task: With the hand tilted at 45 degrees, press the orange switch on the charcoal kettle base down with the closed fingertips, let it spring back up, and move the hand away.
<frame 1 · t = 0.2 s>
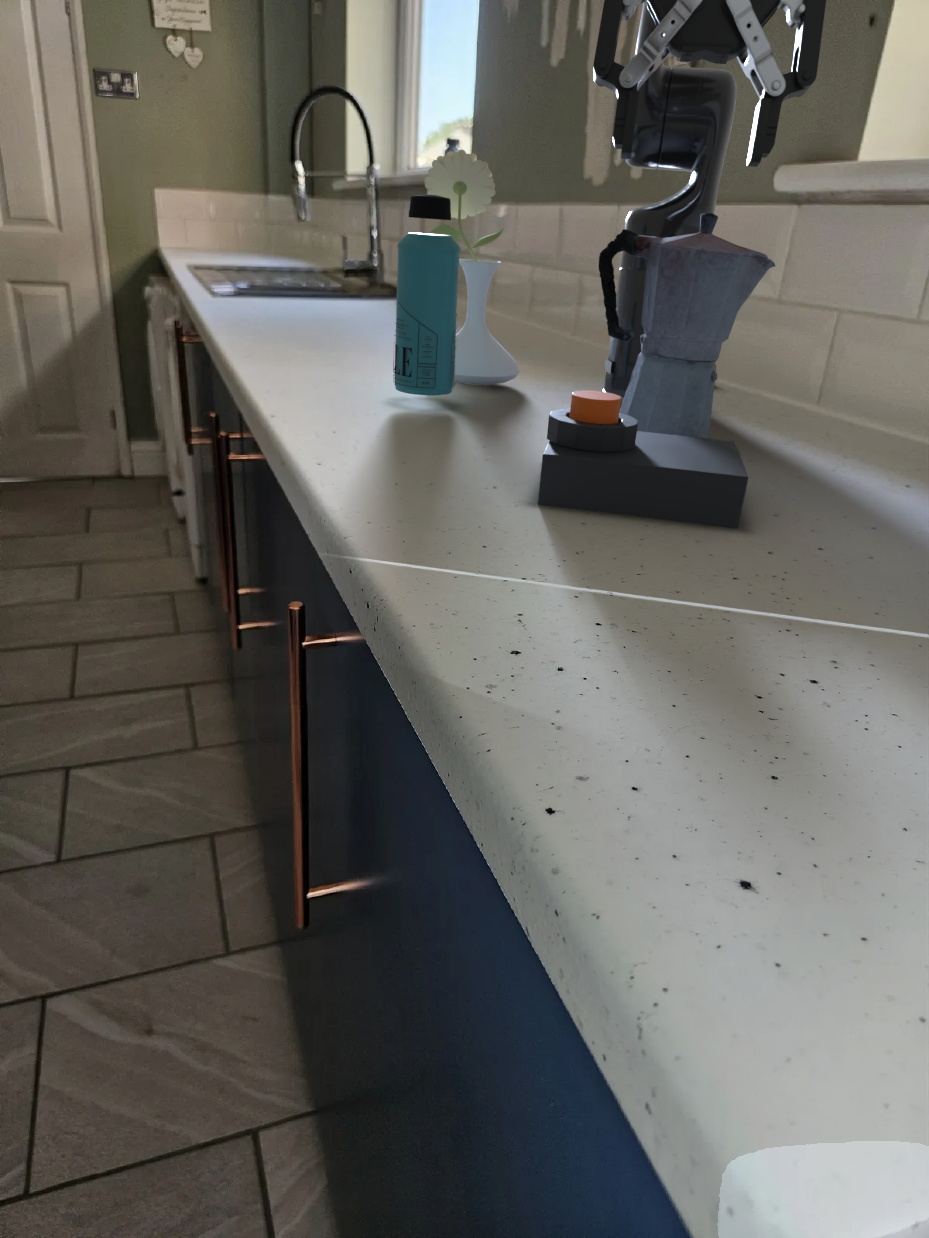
hand: (688, 160, 59), 23 cm above the counter, tool pointing down, fingers open, 8 cm apart
kettle switch: (594, 409, 64), point 6 cm above the counter, slide at 0.1 cm
beverage bottle: (422, 406, 92), on the counter
kettle base: (637, 495, 66), on the counter
moka pot: (656, 440, 84), on the counter
flower in vase: (465, 383, 106), on the counter
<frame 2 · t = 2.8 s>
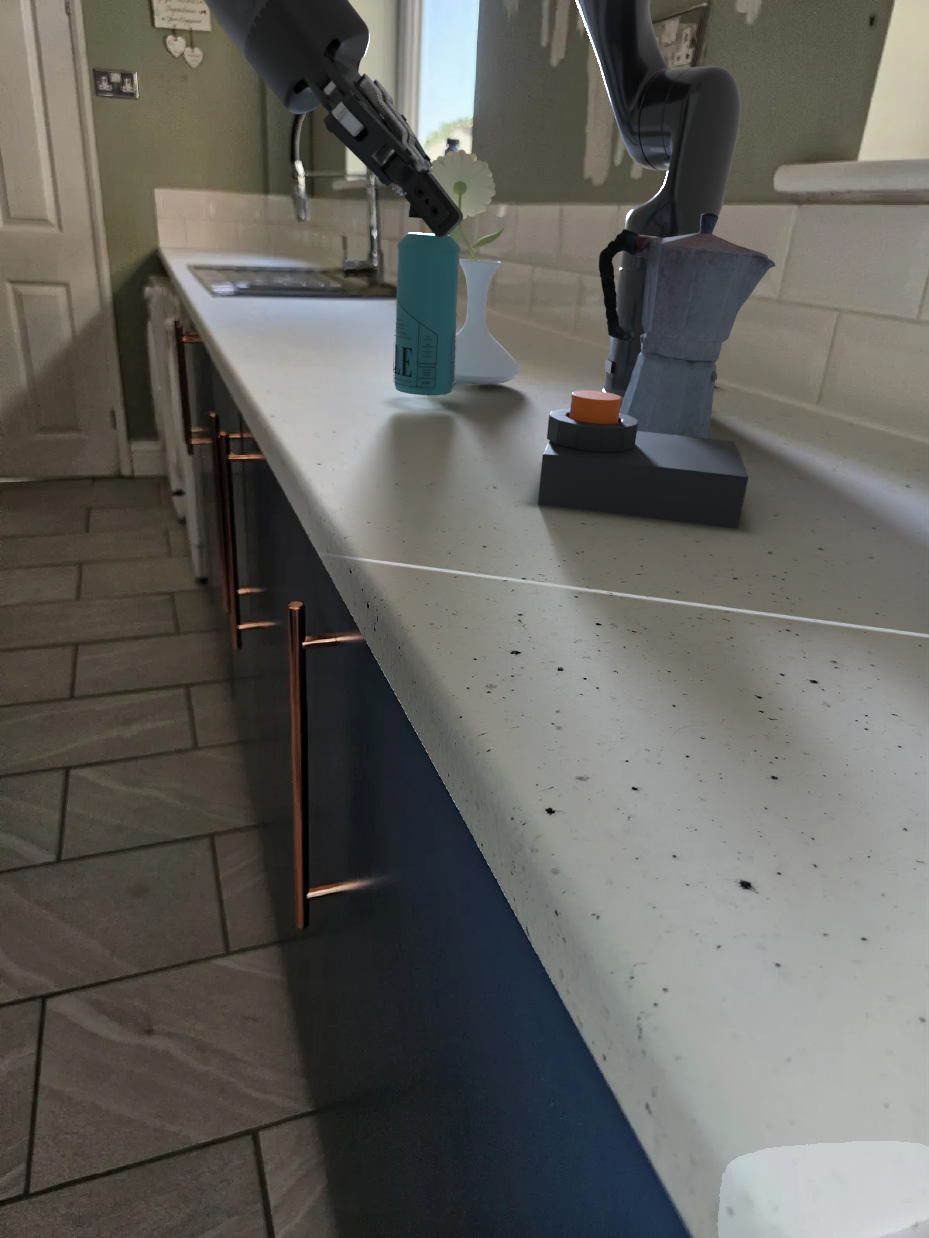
hand: (452, 228, 61), 18 cm above the counter, tool tilted 45°, fingers closed
nothing on the counter moved.
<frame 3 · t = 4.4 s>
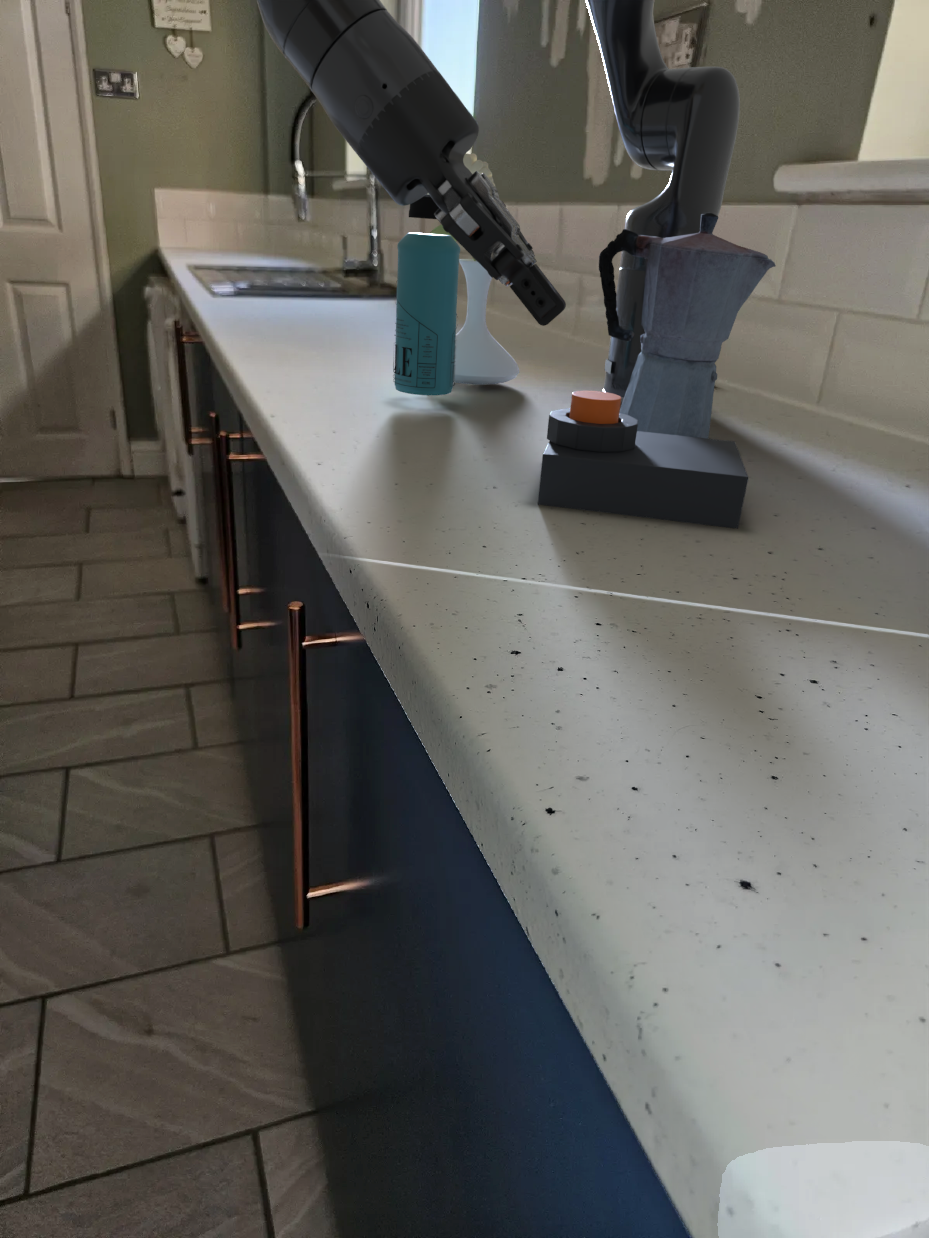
hand: (555, 317, 62), 12 cm above the counter, tool tilted 45°, fingers closed
nothing on the counter moved.
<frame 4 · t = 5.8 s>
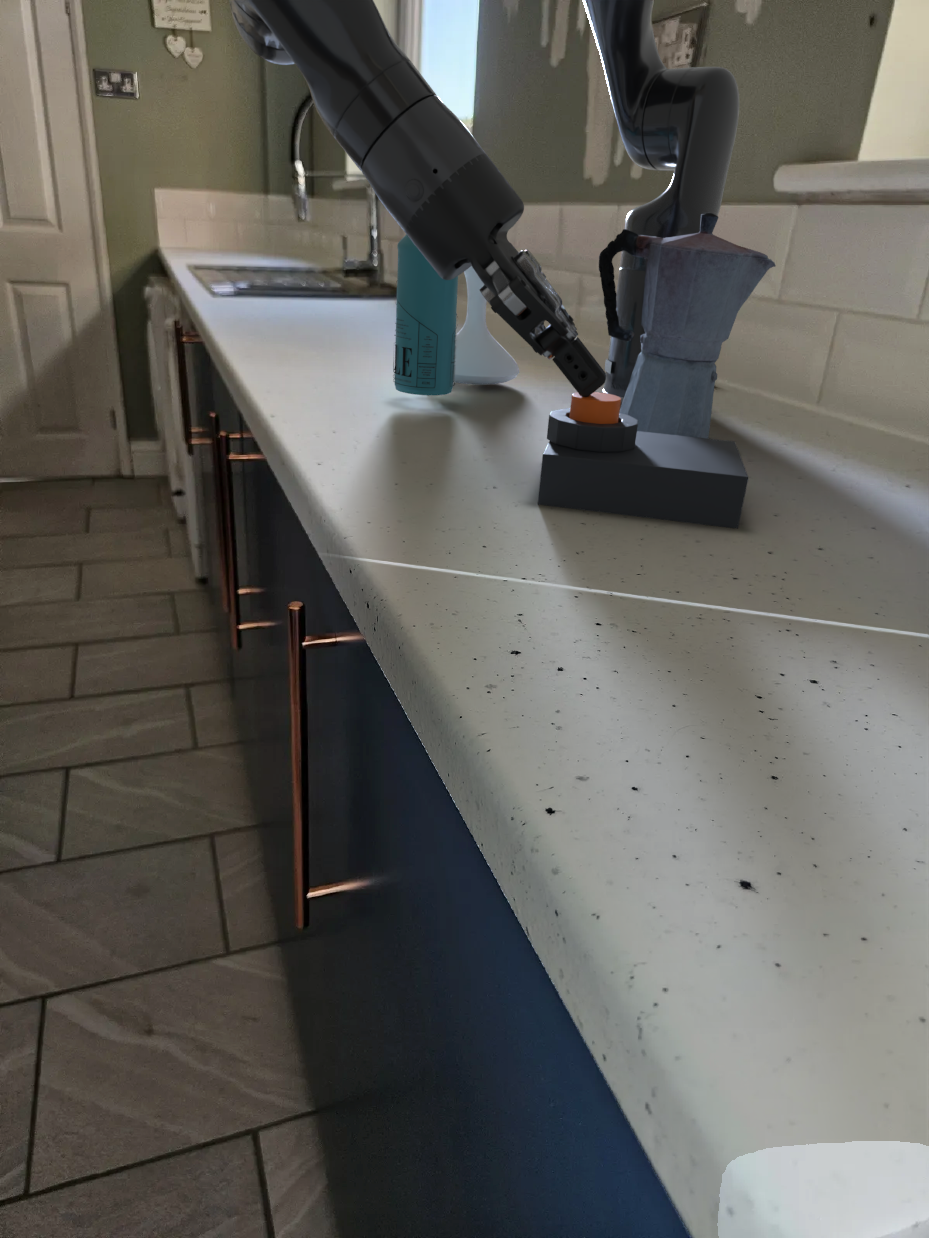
hand: (596, 388, 63), 8 cm above the counter, tool tilted 45°, fingers closed
kettle switch: (594, 410, 64), point 6 cm above the counter, slide at 0.0 cm, touching gripper
everything else where it was.
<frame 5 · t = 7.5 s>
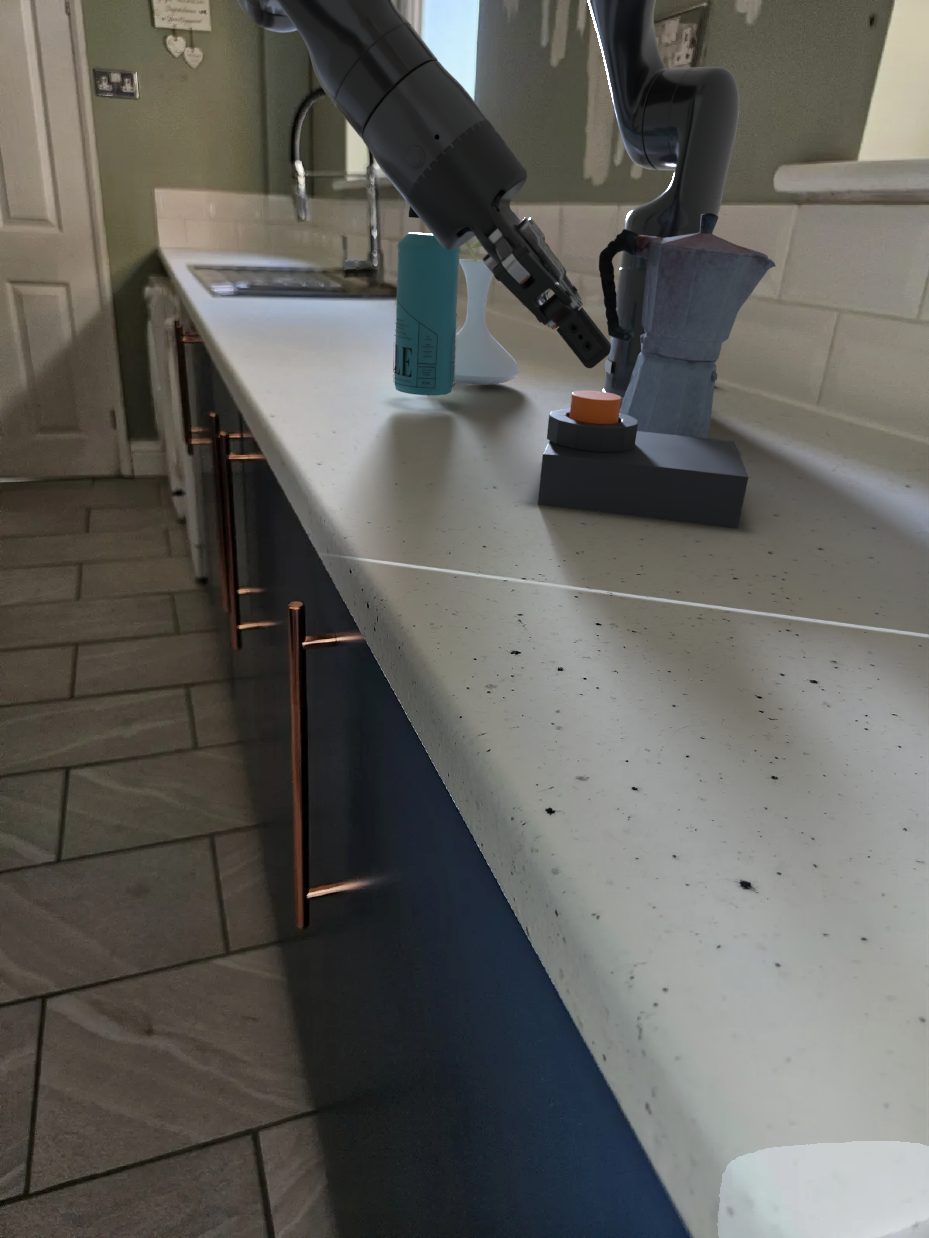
hand: (601, 359, 63), 10 cm above the counter, tool tilted 45°, fingers closed
kettle switch: (594, 409, 64), point 6 cm above the counter, slide at 0.1 cm
everything else where it was.
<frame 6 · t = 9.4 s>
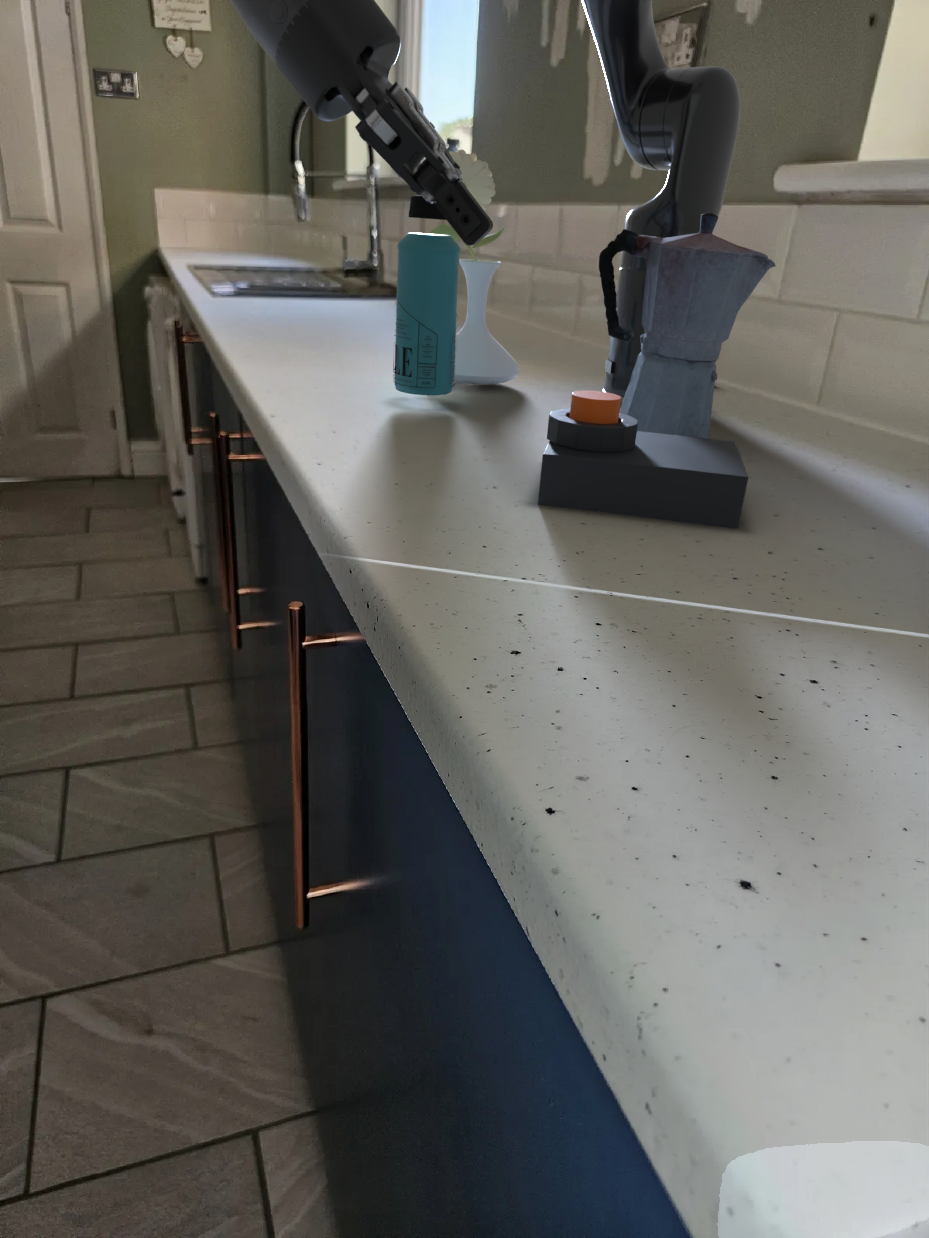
hand: (482, 237, 61), 17 cm above the counter, tool tilted 45°, fingers closed
nothing on the counter moved.
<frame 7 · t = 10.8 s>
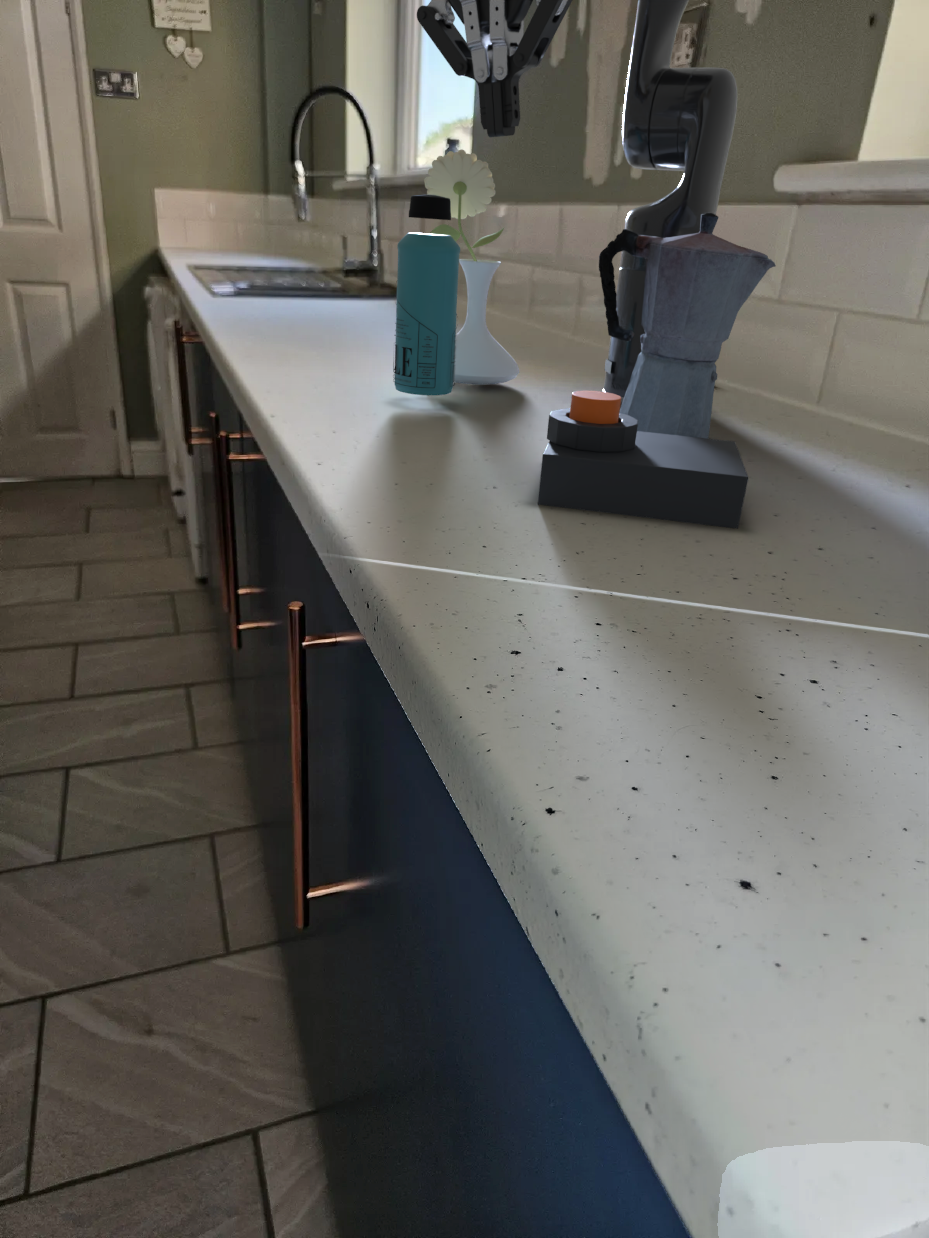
hand: (501, 136, 70), 24 cm above the counter, tool pointing down, fingers closed
nothing on the counter moved.
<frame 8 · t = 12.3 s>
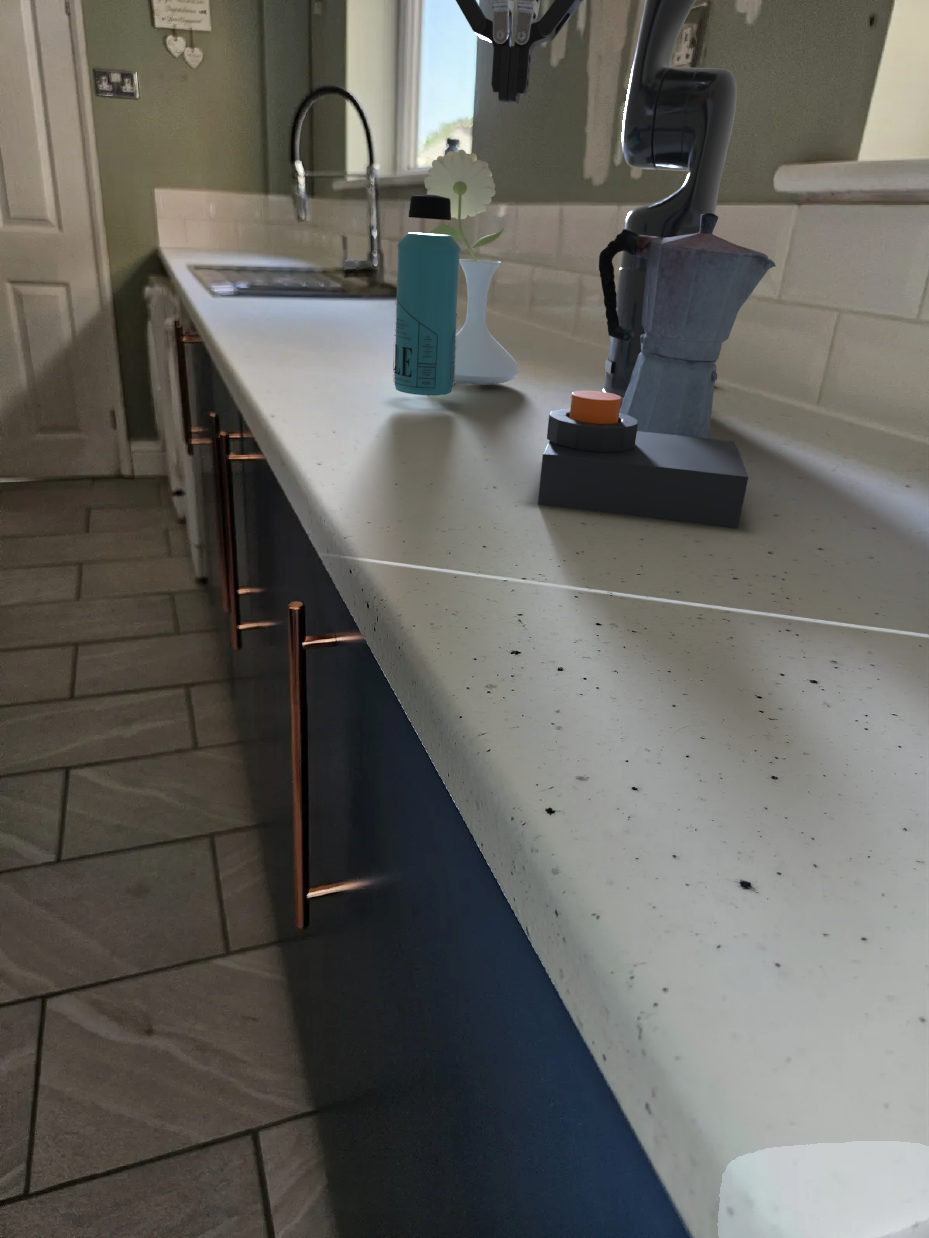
hand: (508, 102, 71), 27 cm above the counter, tool pointing down, fingers closed
nothing on the counter moved.
at the end: kettle switch pushed in 1.3 cm at the most during the clip, back to where it started at the end; kettle switch slide at 0.1 cm; moka pot moved 0.2 cm from its start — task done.
